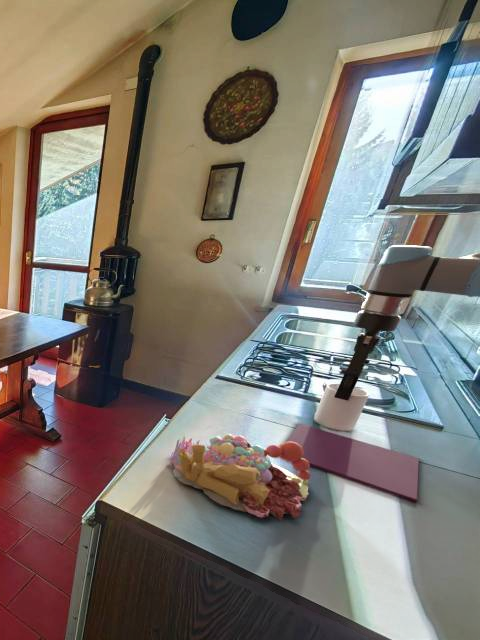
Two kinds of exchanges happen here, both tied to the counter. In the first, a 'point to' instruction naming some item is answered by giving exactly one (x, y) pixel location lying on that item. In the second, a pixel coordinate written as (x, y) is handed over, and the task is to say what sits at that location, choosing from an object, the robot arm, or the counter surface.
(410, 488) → the mat
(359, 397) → the cup
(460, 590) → the counter surface
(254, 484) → the food platter
